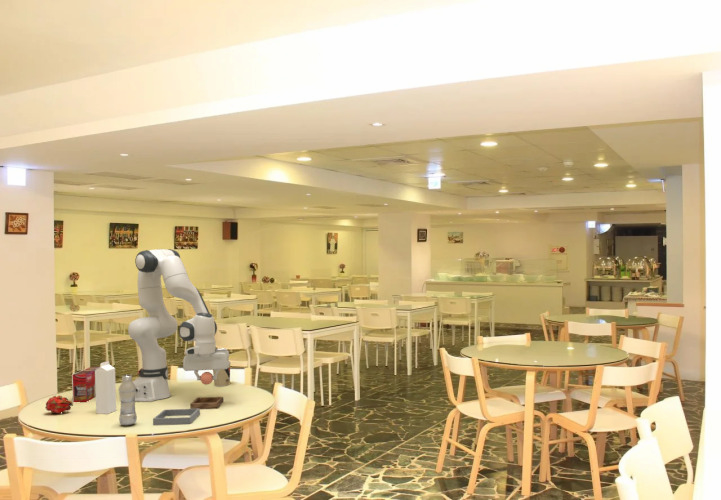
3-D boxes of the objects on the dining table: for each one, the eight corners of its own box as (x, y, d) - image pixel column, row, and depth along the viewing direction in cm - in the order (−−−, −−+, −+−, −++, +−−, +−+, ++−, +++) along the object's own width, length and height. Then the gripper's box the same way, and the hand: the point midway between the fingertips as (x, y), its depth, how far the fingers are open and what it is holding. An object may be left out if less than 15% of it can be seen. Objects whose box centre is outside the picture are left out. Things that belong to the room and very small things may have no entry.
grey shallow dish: (153, 425, 253) (152, 418, 253) (164, 415, 268) (164, 409, 268) (190, 423, 253) (190, 417, 253) (199, 414, 268) (199, 408, 268)
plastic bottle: (122, 423, 258) (120, 374, 258) (139, 422, 258) (137, 373, 258) (117, 427, 251) (115, 377, 251) (134, 426, 252) (133, 376, 252)
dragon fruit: (45, 416, 279) (71, 420, 279) (37, 409, 273) (64, 412, 272) (53, 398, 284) (78, 402, 284) (46, 390, 278) (72, 394, 277)
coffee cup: (229, 386, 324) (228, 363, 324) (210, 387, 324) (210, 363, 324) (232, 382, 333) (232, 360, 334) (215, 383, 334) (214, 360, 334)
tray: (190, 409, 278) (190, 403, 278) (197, 402, 290) (197, 397, 290) (217, 408, 278) (217, 403, 278) (223, 402, 290) (223, 396, 290)
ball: (199, 385, 281) (198, 373, 281) (202, 383, 286) (201, 371, 287) (211, 385, 281) (211, 372, 281) (214, 382, 287) (214, 370, 287)
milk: (96, 413, 275) (94, 363, 276) (104, 410, 281) (102, 360, 281) (108, 414, 274) (106, 363, 274) (116, 410, 280) (114, 360, 280)
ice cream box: (90, 393, 318) (89, 367, 319) (103, 393, 319) (102, 366, 319) (72, 402, 298) (72, 374, 299) (86, 402, 299) (85, 374, 299)
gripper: (230, 347, 287) (231, 377, 287) (185, 349, 287) (186, 379, 287) (227, 349, 281) (228, 380, 281) (181, 351, 281) (182, 382, 281)
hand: (206, 379), depth 284 cm, fingers closed on ball, 6 cm apart
